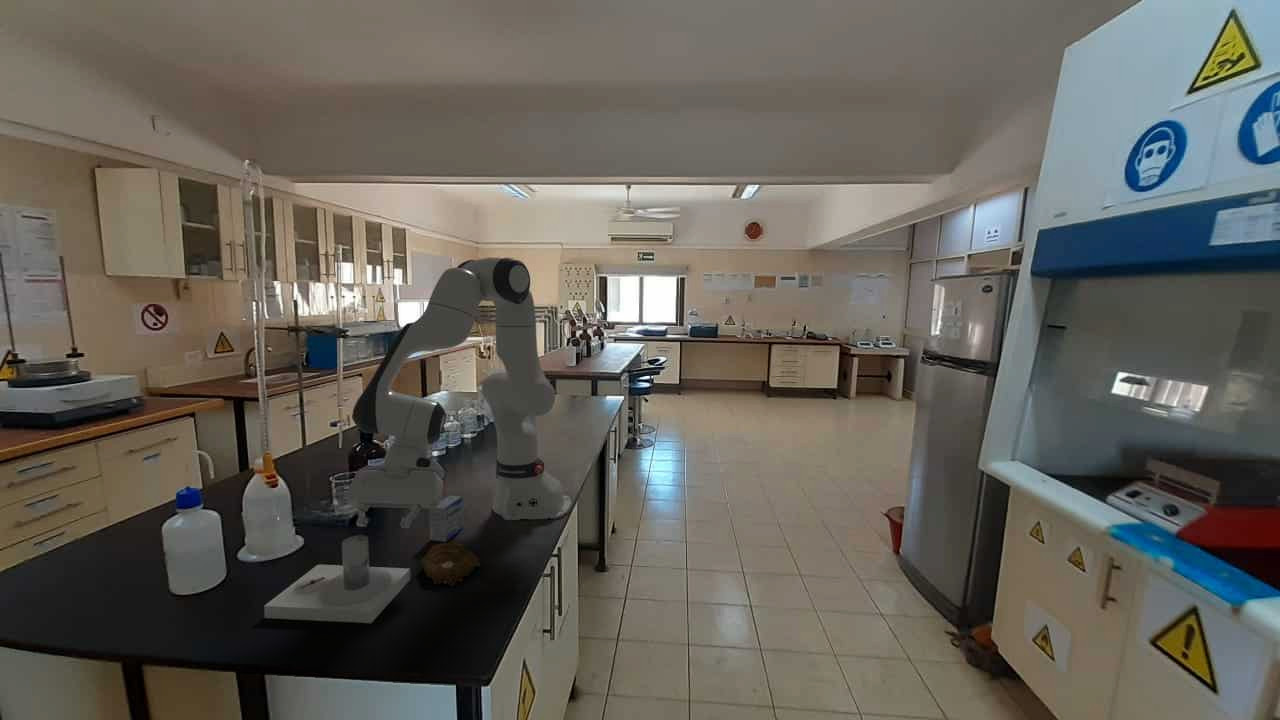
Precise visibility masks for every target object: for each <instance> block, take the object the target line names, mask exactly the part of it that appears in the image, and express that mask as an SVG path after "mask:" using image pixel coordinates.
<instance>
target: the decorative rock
mask: <svg viewBox="0 0 1280 720" xmlns="http://www.w3.org/2000/svg"><path fill="white" fill-rule="evenodd" d="M420 563H421V565H422V567H423V571H424V573H425V574H426V576H427V577H428V578H431V580H432V581H433V584H434V585H437V584H439V585H441V584H443V585H445V584H447V585H448V586H449V587H452V586H455V585H456V582H460V583H462V582H463V579H464V578H467V577H468V576H471V575H472V571H474V569H475V567H476V568H479V567H481V564H480V562H479V558H478V556H477V555H476V554H474V553H473V552H472V551H471V550H469V549H468V548H466V547H464V546H463V543H461V541H460V540H453V541H451V542H441V543H438V544H434V545H433V546H432V547H431V548H430V549H429V550H428V551H427V553H426V555H425V556H424V557H423V558H421V559H420Z"/></svg>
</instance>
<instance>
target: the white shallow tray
mask: <svg viewBox="0 0 1280 720" xmlns="http://www.w3.org/2000/svg"><path fill="white" fill-rule="evenodd" d="M369 574H370V582H369V584H368V585H366V586H365V587H363V588H361V589H357V590H346V589H344V578H343V565H339V564H337V565H336V564H317V565H316V566H314V567H313V568H311V569H310V570H308V571H307V572H306V573H305V574H304V575H302V576H301V577H300V578H299V579H298V580H296V581H295V582H293V583H292V584H291V585H289V586H288V587H287V588H285V589H284V590H283V591H282V592H280V593H279V594H278V595H276V596H275V597H273V599H271V600H269V601H268V602H267V603H266V604H265V605H263V608H264V610H263V611H264V612H263V613H264V619H278V620H279V619H281V620H301V621H317V622H319V621H320V622H341V623H362V624H372V623H374V621H375V620H376V618H377V617H379V615H380V614H381V613H382V612H383V611H384V609H386V608H387V606H388V605H389V604H390V603H391V602H392V600H394V599H395V598H396V596H398V594H399V593H400V592H401V591H402V590H403V588H405V586H406V585H407V584H408V582H409V581H410V580H411V568H404V567H403V568H402V567H384V566H383V567H380V566H379V567H377V566H369Z"/></svg>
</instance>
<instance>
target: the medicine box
mask: <svg viewBox="0 0 1280 720" xmlns="http://www.w3.org/2000/svg"><path fill="white" fill-rule="evenodd" d="M463 505H464V504H463V497H462V496H456V495H447V496H445V497H444V498H443V499H441V500H440V503H439V505H438V506H437V507H435V508H434V509H431V508H428V514H429V515H428V516H429V518H428V519H429V540H430V541H434V542H436V541H437V542H441V543H447V542H448V541H449V540H450V539H451V538H452V537H454V536H455V535H456V534H457V533H459V532H460V531H461V530H462V529H463V528H464V513H463V512H464V509H463V508H464V506H463Z"/></svg>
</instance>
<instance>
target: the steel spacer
mask: <svg viewBox="0 0 1280 720" xmlns="http://www.w3.org/2000/svg"><path fill="white" fill-rule="evenodd" d="M369 552H370V551H369V537H368V536H367V535H365V534H364V535H363V534H358V535H353V536H350V537H347V538H345V539H344V540H342V542H341V556H342V557H341V559H342V566H343V578H344V589H346V590H357V589H361V588H363V587H365V586H366V585H368V584H369V582H370V574H369V567H370V557H369V556H370V555H369Z"/></svg>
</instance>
